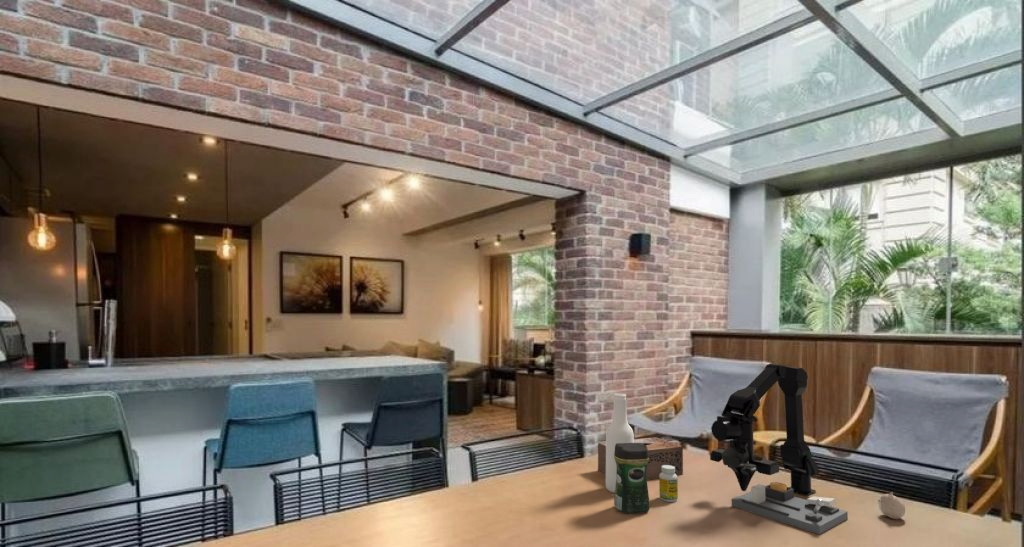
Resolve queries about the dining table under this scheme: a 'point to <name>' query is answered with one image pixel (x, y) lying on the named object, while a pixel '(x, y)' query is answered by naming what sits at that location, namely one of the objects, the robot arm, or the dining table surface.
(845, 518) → the panel
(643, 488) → the coffee jar
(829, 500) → the white slab
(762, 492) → the grey angular block
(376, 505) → the dining table surface
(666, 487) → the supplement bottle
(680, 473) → the tissue box cover
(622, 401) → the alcohol
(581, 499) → the dining table surface
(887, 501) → the garlic bulb
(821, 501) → the toggle lever
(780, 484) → the push button
